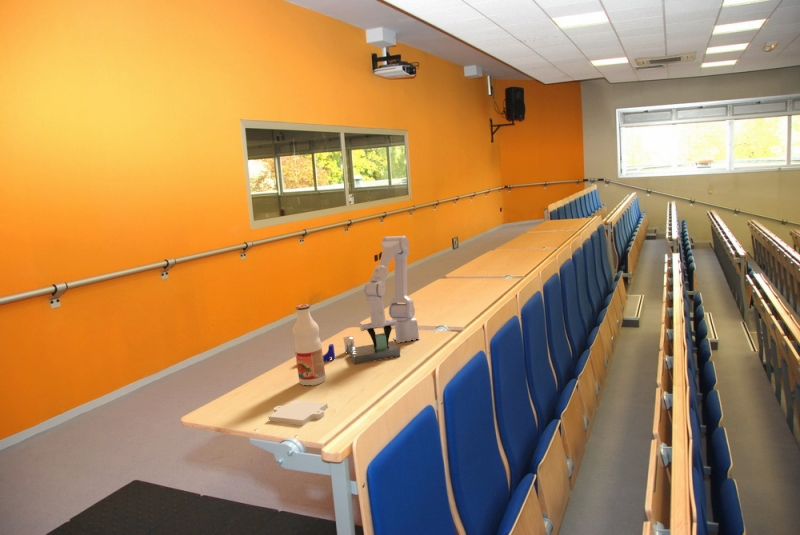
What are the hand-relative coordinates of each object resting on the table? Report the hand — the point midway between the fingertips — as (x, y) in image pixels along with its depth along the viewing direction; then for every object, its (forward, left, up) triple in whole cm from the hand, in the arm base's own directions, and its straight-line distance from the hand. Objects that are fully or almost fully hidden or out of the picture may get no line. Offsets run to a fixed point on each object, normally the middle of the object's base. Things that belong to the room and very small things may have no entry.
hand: (381, 345), depth 239 cm
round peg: (+11, -11, -4) cm, 16 cm away
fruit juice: (+29, +17, -4) cm, 34 cm away
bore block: (+3, 0, -4) cm, 5 cm away
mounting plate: (+36, +45, -4) cm, 58 cm away
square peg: (0, 0, -2) cm, 2 cm away
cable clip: (+24, -6, -4) cm, 25 cm away
